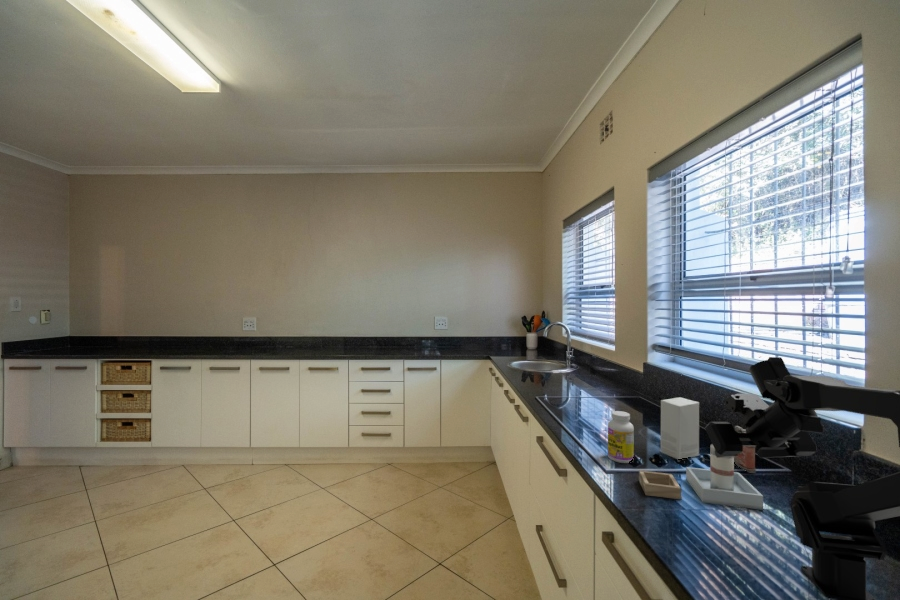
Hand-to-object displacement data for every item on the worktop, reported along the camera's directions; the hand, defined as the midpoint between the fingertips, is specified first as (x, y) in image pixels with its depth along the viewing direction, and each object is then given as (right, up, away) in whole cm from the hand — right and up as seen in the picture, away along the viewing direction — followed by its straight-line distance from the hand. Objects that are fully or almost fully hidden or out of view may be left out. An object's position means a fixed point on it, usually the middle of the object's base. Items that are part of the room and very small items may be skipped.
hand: (737, 455), depth 82 cm
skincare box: (+4, -11, +27) cm, 29 cm away
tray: (0, -11, +5) cm, 12 cm away
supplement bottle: (-15, -11, +24) cm, 30 cm away
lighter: (+16, -11, +19) cm, 27 cm away
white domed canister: (0, -10, +5) cm, 11 cm away
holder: (-13, -11, +7) cm, 18 cm away
